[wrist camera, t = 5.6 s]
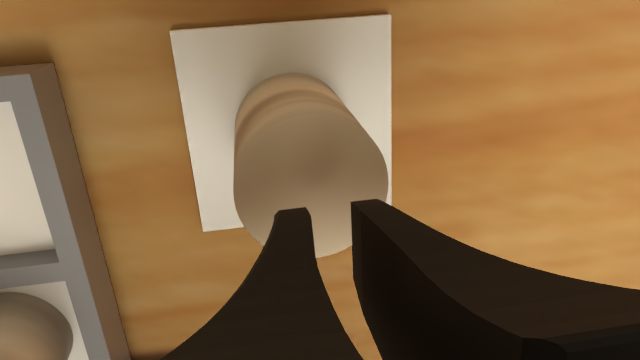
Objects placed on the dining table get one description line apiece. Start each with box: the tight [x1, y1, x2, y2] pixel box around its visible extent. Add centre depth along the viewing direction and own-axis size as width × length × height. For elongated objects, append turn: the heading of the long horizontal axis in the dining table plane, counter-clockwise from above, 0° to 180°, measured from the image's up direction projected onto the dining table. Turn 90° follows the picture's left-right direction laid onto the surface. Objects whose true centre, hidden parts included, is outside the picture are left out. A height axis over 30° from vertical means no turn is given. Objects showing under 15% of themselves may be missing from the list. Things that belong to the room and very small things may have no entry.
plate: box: [169, 14, 391, 232], centre depth 20 cm, size 8×8×1 cm
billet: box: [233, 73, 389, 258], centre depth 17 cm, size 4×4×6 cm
